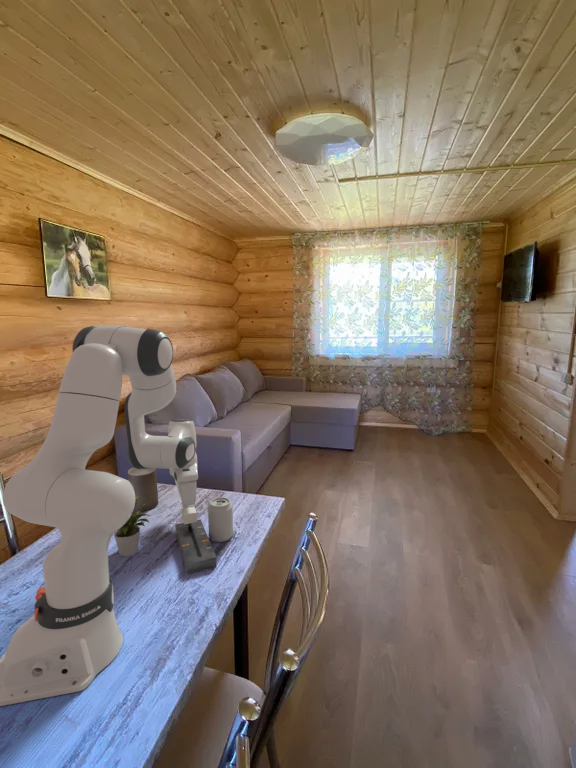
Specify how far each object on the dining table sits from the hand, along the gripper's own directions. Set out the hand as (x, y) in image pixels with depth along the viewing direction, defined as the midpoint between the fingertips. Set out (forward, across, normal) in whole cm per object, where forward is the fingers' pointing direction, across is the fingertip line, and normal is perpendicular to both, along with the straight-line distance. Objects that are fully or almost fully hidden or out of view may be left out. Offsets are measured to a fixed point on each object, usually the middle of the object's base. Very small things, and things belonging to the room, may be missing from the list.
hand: (185, 506), depth 126 cm
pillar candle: (+6, -19, -12) cm, 24 cm away
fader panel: (+6, +16, 0) cm, 17 cm away
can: (+6, +12, +9) cm, 17 cm away
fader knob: (+3, +8, 0) cm, 8 cm away
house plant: (+6, +10, -19) cm, 22 cm away
